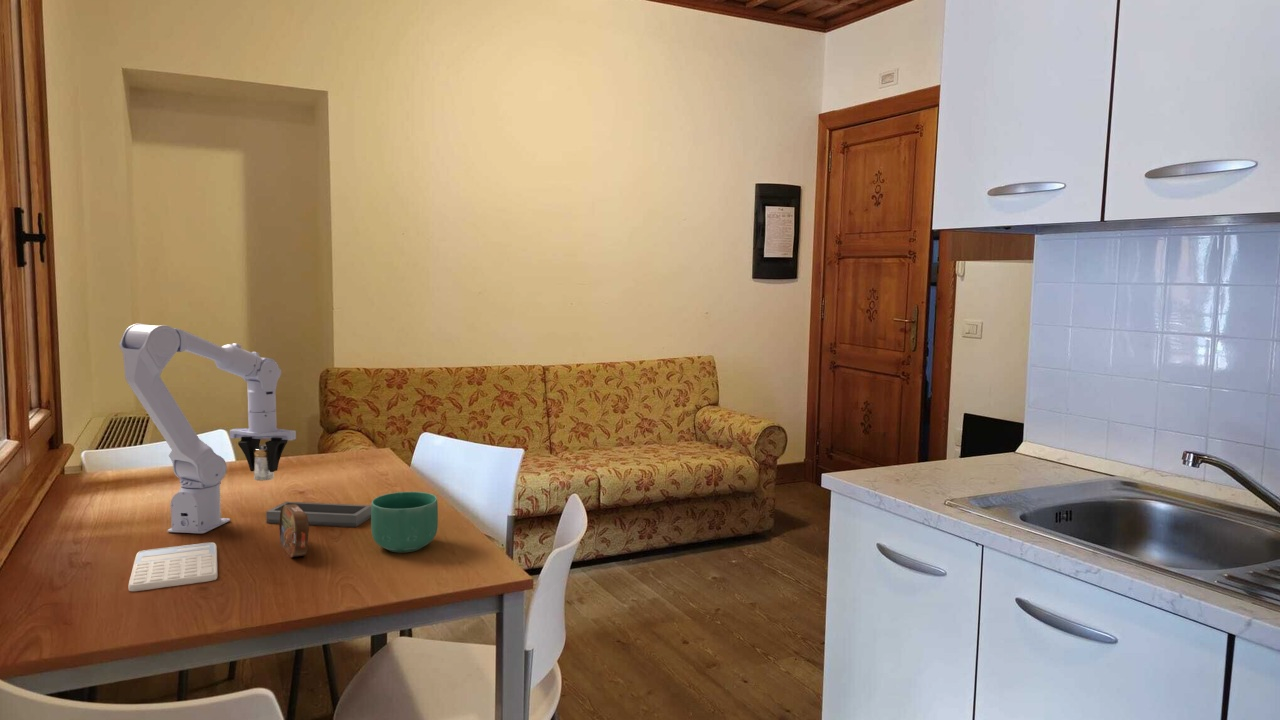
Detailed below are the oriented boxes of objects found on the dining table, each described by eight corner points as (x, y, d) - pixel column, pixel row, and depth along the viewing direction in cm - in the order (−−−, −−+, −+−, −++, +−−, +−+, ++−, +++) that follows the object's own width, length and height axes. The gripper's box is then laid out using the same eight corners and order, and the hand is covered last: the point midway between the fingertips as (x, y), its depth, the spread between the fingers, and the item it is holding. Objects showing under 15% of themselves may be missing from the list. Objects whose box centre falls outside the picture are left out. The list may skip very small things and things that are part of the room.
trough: (356, 527, 175) (356, 515, 175) (266, 522, 177) (266, 511, 177) (372, 516, 183) (372, 505, 183) (286, 512, 185) (286, 501, 185)
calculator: (127, 595, 138) (127, 584, 137) (136, 559, 155) (136, 549, 155) (217, 582, 144) (217, 572, 144) (216, 549, 161) (216, 539, 161)
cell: (267, 481, 184) (266, 447, 184) (250, 480, 185) (249, 446, 184) (277, 476, 188) (276, 443, 188) (260, 476, 189) (259, 443, 188)
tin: (278, 541, 165) (277, 500, 164) (295, 539, 167) (294, 498, 166) (293, 563, 153) (292, 518, 152) (312, 560, 154) (311, 516, 154)
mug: (443, 553, 160) (442, 504, 159) (374, 560, 155) (374, 511, 154) (429, 529, 175) (429, 484, 174) (366, 535, 170) (366, 489, 169)
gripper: (302, 409, 188) (303, 467, 190) (241, 407, 190) (243, 465, 191) (286, 413, 181) (287, 475, 183) (223, 412, 183) (225, 472, 184)
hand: (263, 470), depth 186 cm, fingers closed on cell, 4 cm apart
